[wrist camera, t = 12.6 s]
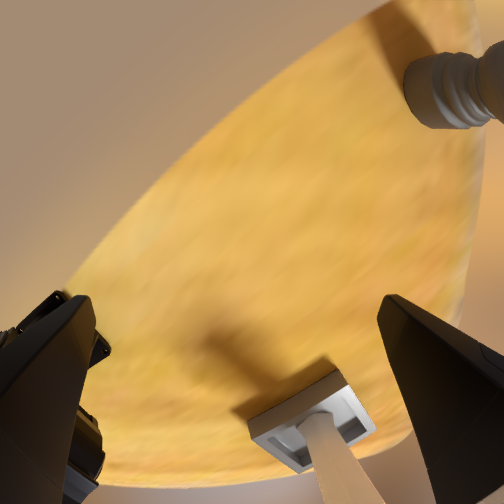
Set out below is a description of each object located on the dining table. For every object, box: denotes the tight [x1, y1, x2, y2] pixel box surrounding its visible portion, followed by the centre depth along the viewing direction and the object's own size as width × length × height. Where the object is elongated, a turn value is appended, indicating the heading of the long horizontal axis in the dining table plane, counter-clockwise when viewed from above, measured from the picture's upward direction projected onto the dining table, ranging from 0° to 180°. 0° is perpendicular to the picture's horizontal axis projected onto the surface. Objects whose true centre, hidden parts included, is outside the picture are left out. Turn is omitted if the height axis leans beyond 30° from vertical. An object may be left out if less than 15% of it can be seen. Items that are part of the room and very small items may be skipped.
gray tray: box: [247, 369, 378, 474], centre depth 28 cm, size 10×10×2 cm
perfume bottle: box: [297, 413, 385, 504], centre depth 21 cm, size 5×4×15 cm
